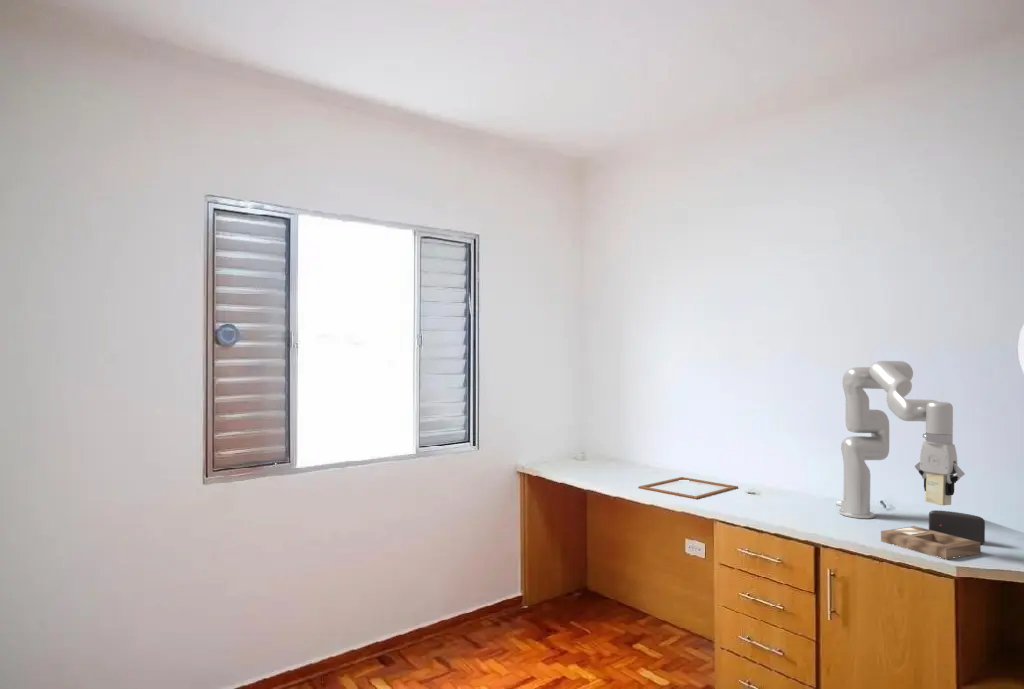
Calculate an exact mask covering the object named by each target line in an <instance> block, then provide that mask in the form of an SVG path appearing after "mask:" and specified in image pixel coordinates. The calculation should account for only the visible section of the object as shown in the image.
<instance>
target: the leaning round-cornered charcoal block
mask: <svg viewBox="0 0 1024 689" xmlns="http://www.w3.org/2000/svg"><path fill="white" fill-rule="evenodd" d="M928 530H932V531H936V532H940V533H944V534H948V535H952V536H956V537H960V538H964V539H968V540H972V541H976V542H980V543H981V545H984V544H985V542H986V540H985V539H986V538H985V537H986V534H985V533H986V522H985V518H982V517H981V516H978V515H974V514H969V513H963V512H956V511H947V510H931V511H929V513H928Z"/></svg>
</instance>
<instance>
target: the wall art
mask: <svg viewBox="0 0 1024 689" xmlns="http://www.w3.org/2000/svg"><path fill="white" fill-rule="evenodd" d="M679 480H689V482H687V481H686V482H687V483H692V484H697V485H704V486H709V487H715V488H717V489H714V490H710V491H706V492H703V493H697V494H694V495H691V494H687V493H680V492H676V491H669V490H664V489H659V488H662V487H667V486H671V485H675V484H676V485H677V484H680V483H681V484H682V483H684V482H683V481H679ZM678 481H679V482H678ZM637 489H640V490H641V489H642V490H644V491H650V492H655V493H661V494H667V495H670V496H675V497H676V496H677V497H681V498H687V499H691V500H692V499H693V500H700V499H704V498H708V497H711V496H715V495H718V494H723V493H726V492H730V491H734V490H737V489H739V486H738V485H732V484H726V483H722V482H721V483H720V482H714V481H709V480H702V479H696V478H695V479H694V478H689V477H685V476H684V477H683V476H681V477H680V476H679V477H674V478H671V479H667V480H662V481H657V482H652V483H648V484H644V485H639V486H638V488H637Z"/></svg>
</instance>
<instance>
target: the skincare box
mask: <svg viewBox="0 0 1024 689" xmlns="http://www.w3.org/2000/svg"><path fill="white" fill-rule="evenodd" d="M946 483H948V482H947V479H946V475H942V474H936V473H930V472H927V474H926V491H925V502H926V503H930V504H935V505H938V506H951V505H952V497H953V495H949V496H948V495H946Z"/></svg>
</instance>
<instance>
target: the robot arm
mask: <svg viewBox="0 0 1024 689" xmlns="http://www.w3.org/2000/svg"><path fill="white" fill-rule="evenodd" d="M913 377H914V370H913V368H912V366H911V365H910V364H909V363H908V362H906V361H903V360H902V361H901V360H879V361H876V362H874V363H872V365H870V367H869V366H866V367H865V366H864V367H863V366H862V367H861V366H859V367H858V366H857V367H852V368H849V369H847V370H846V371H845V372H844V374H843V375H842V388H843V392H844V396H845V397H844V398H845V427H846V429H847V431H849V432H850V433H856V434H870V435H871V436H869V435H868V436H866V435H865V436H863V435H856V436H855V435H854V436H848V437H846V438H843V440H842V442H841V448H840V449H841V455H842V461H843V500H837V501H836V503H835V505H836V507H837V506H838V507H840V509H839V513H838V514H840V515H842V516H845V517H848V518H855V519H867V520H868V519H873V518H875V513H874V512H873V511H871V470H870V468H869V466H868V465H867V463H866V461H883V460H886V459H887V458H888V457H889V454H890V420H889V418H888V416H887V414H886V412H884V411H883V410H880V409H871V408H870V398H869V395H868V394H867V392H866V391H865V389H866V390H867V389H868V390H869V389H870V390H874V389H875V390H877V389H878V390H879V389H880V390H884V391H885V393H887V394H886V403H887V407H888V409H889V410H890V412H892V413H893V415H895V416H896V417H897V418H898V419H900V420H901V421H905V422H924V423H925V433H922V438H923V439H924V438H925V441H923V443H922V445H921V449H920V455H919V456H920V457H919V462H918V463H916V464H915V465H914V468H915V469H916V470H917V471H918V473H919V475H920V476H921V477H922V480H923V488H924V492H926V474H927V472H930V473H936V474H942V475H946V479H947V482H948V483H946V495H948V496H949V495H952V496H953V495H954V494H955V484H956V483H957V482H958V481H959V480H960V479H961V478H962V477H964V476H965V475H966V474H965V472H964V471H963V470H962V469H961V468H960V466H958V454H957V449H956V446H955V444H954V441H953V440H954V438H953V437H954V436H953V433H954V429H953V428H954V423H953V422H954V421H953V420H954V419H953V418H954V408H953V406H954V405H953V404H952V403H950V402H947V401H938V400H935V399H919V398H918V399H916V398H915V399H913V398H912V399H910V398H909V399H907V398H905V397H906V396H908V395H909V394H910V393H911V391H912V388H913V384H912V381H911V380H912V379H913Z"/></svg>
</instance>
